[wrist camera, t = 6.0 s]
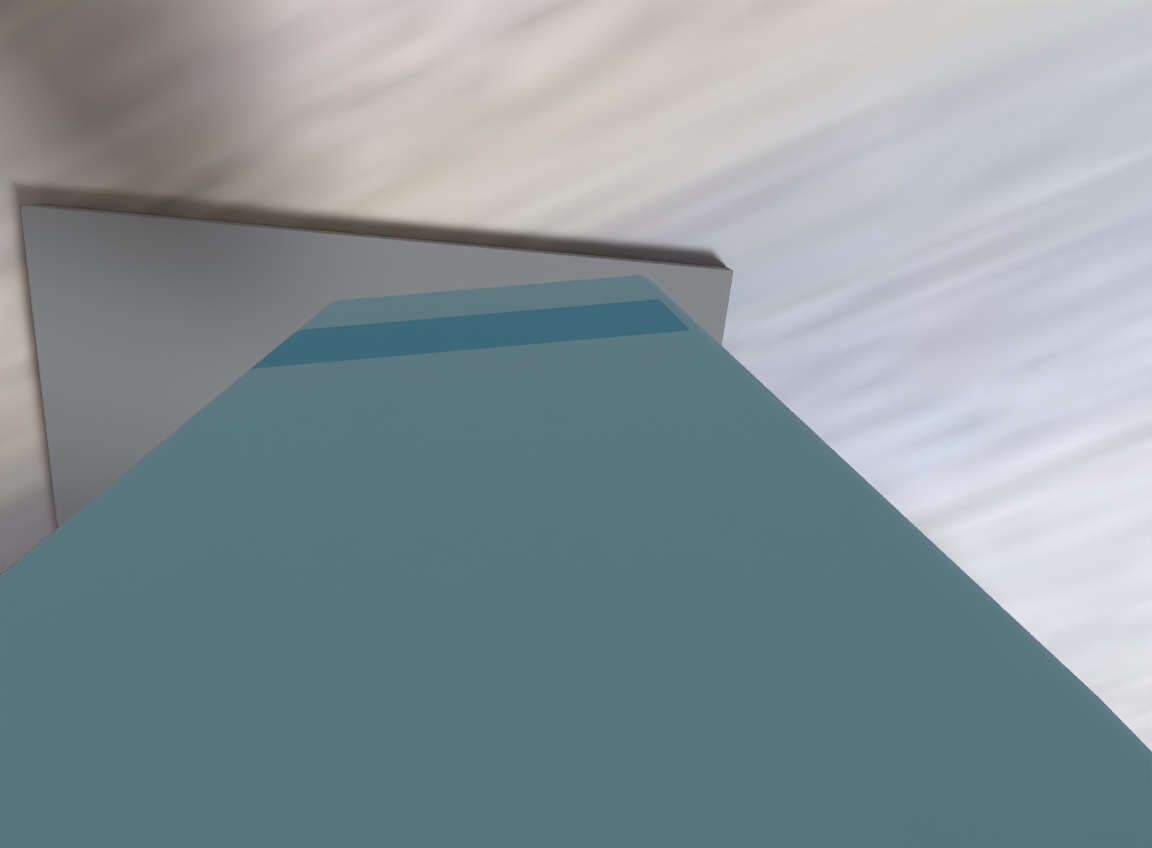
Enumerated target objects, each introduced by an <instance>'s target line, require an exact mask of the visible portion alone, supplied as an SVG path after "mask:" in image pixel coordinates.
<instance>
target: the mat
mask: <svg viewBox="0 0 1152 848" xmlns="http://www.w3.org/2000/svg"><path fill="white" fill-rule="evenodd" d="M20 209H21V217H22V226H23V235H24V243H25V252H26V260H27V269H28V278H29V286H30V295H31V304H32V312H33V321H34V330H35V338H36V347H37V355H38V364H39V373H40V381H41V390H42V399H43V407H44V416H45V424H46V433H47V442H48V450H49V459H50V468H51V476H52V485H53V494H54V502H55V511H56V519H57V528H59V527H60V526H61V525H62V524H63V523H65V522H66V521H67V520H68V519H70V518H71V517H72V516H73V515H74V514H76V513H77V512H78V511H79V510H80V509H82V508H83V507H84V506H85V505H86V504H88V503H89V502H90V501H91V500H92V499H94V498H95V497H96V496H97V495H99V494H100V493H101V492H102V491H103V490H105V489H106V488H107V487H108V486H109V485H111V484H112V483H113V482H114V481H115V480H117V479H118V478H119V477H120V476H121V475H123V474H124V473H125V472H126V471H128V470H129V469H130V468H131V467H132V466H134V465H135V464H136V463H137V462H138V461H140V460H141V459H142V458H143V457H144V456H146V455H147V454H148V453H149V452H150V451H152V450H153V449H154V448H155V447H157V446H158V445H159V444H160V443H161V442H163V441H164V440H165V439H166V438H167V437H169V436H170V435H171V434H172V433H173V432H175V431H176V430H177V429H178V428H179V427H181V426H182V425H183V424H184V423H186V422H187V421H188V420H189V419H190V418H192V417H193V416H194V415H195V414H196V413H198V412H199V411H200V410H201V409H202V408H204V407H205V406H206V405H207V404H208V403H210V402H211V401H212V400H213V399H215V398H216V397H217V396H218V395H219V394H221V393H222V392H223V391H224V390H225V389H227V388H228V387H229V386H230V385H231V384H233V383H234V382H235V381H236V380H237V379H239V378H240V377H241V376H242V375H244V374H245V373H246V372H247V371H248V370H250V369H251V368H252V367H253V366H254V365H256V364H257V363H258V362H259V361H260V360H262V359H263V358H264V357H265V356H267V355H268V354H269V353H270V352H271V351H273V350H274V349H275V348H276V347H277V346H279V345H280V344H281V343H282V342H283V341H285V340H286V339H287V338H288V337H289V336H291V335H292V334H293V333H294V332H296V331H297V330H298V329H299V328H300V327H302V326H303V325H304V324H305V323H306V322H308V321H309V320H310V319H311V318H312V317H314V316H315V315H316V314H317V313H318V312H320V311H321V310H322V309H323V308H325V307H326V306H327V305H329V304H331V303H333V302H335V301H338V300H347V299H359V298H370V297H382V296H394V295H406V294H418V293H430V292H442V291H454V290H466V289H478V288H490V287H501V286H513V285H525V284H537V283H549V282H561V281H573V280H585V279H597V278H609V277H621V276H632V275H640V276H644V277H646V278H648V279H650V280H651V281H652V282H654V283H655V284H656V285H657V286H658V287H659V288H660V289H661V290H662V291H663V292H664V293H665V294H666V295H667V296H669V297H670V298H671V299H672V300H673V301H674V302H675V303H676V304H677V305H678V306H679V307H680V308H681V309H682V310H684V311H685V312H686V313H687V314H688V315H689V316H690V317H691V318H692V319H693V320H694V321H695V322H696V323H697V324H699V325H700V326H701V327H702V328H703V329H704V330H705V331H706V332H707V333H708V334H709V335H710V336H711V337H713V338H714V339H715V340H716V341H717V342H718V343H719V344H720V345H722V339H723V332H724V326H725V320H726V314H727V307H728V301H729V295H730V288H731V282H732V276H733V270H731V269H729V268H727V267H717V266H707V265H696V264H685V263H674V262H663V261H652V260H641V259H630V258H619V257H608V256H597V255H586V254H576V253H565V252H554V251H543V250H532V249H521V248H510V247H499V246H488V245H477V244H466V243H455V242H445V241H434V240H423V239H412V238H401V237H390V236H379V235H368V234H357V233H346V232H335V231H324V230H314V229H303V228H292V227H281V226H270V225H259V224H248V223H237V222H226V221H215V220H204V219H193V218H183V217H172V216H161V215H150V214H139V213H128V212H117V211H106V210H95V209H84V208H73V207H62V206H52V205H41V204H31V205H22V206H20Z"/></svg>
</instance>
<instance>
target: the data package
mask: <svg viewBox="0 0 1152 848" xmlns="http://www.w3.org/2000/svg"><path fill="white" fill-rule="evenodd" d="M0 848H1152V752H1151V751H1150V750H1149V748H1148V747H1147V746H1146V745H1145V744H1144V743H1143V742H1142V741H1141V740H1140V739H1139V738H1138V737H1137V736H1136V735H1135V734H1134V733H1133V732H1132V731H1131V730H1130V729H1129V728H1128V727H1127V726H1126V725H1125V724H1124V723H1123V722H1122V721H1121V720H1120V719H1119V718H1118V717H1117V716H1116V715H1115V714H1114V713H1113V712H1112V711H1111V710H1110V709H1109V708H1108V706H1107V705H1106V704H1105V703H1104V702H1103V701H1102V700H1101V699H1100V698H1099V697H1098V696H1096V695H1095V694H1094V693H1093V692H1092V691H1091V690H1090V689H1089V688H1088V687H1087V686H1086V685H1085V684H1084V683H1083V682H1081V681H1080V680H1079V679H1078V678H1077V677H1076V676H1075V675H1074V674H1073V673H1072V672H1071V671H1070V670H1069V669H1068V668H1066V667H1065V666H1064V665H1063V664H1062V663H1061V662H1060V661H1059V660H1058V659H1057V658H1056V657H1055V656H1054V655H1053V654H1051V653H1050V652H1049V651H1048V650H1047V649H1046V648H1045V647H1044V646H1043V645H1042V644H1041V643H1040V642H1039V641H1038V640H1036V639H1035V638H1034V637H1033V636H1032V635H1031V634H1030V633H1029V632H1028V631H1027V630H1026V629H1025V628H1024V627H1022V626H1021V625H1020V624H1019V623H1018V622H1017V621H1016V620H1015V619H1014V618H1013V617H1012V616H1011V615H1010V614H1009V613H1007V612H1006V611H1005V610H1004V609H1003V608H1002V607H1001V606H1000V605H999V604H998V603H997V602H996V601H995V600H994V599H992V598H991V597H990V596H989V595H988V594H987V593H986V592H985V591H984V590H983V589H982V588H981V587H980V586H979V585H977V584H976V583H975V582H974V581H973V580H972V579H971V578H970V577H969V576H968V575H967V574H966V573H965V572H964V571H962V570H961V569H960V568H959V567H958V566H957V565H956V564H955V563H954V562H953V561H952V560H951V559H950V558H948V557H947V556H946V555H945V554H944V553H943V552H942V551H941V550H940V549H939V548H938V547H937V546H936V545H935V544H933V543H932V542H931V541H930V540H929V539H928V538H927V537H926V536H925V535H924V534H923V533H922V532H921V531H920V530H918V529H917V528H916V527H915V526H914V525H913V524H912V523H911V522H910V521H909V520H908V519H907V518H906V517H905V516H903V515H902V514H901V513H900V512H899V511H898V510H897V509H896V508H895V507H894V506H893V505H892V504H891V503H889V502H888V501H887V500H886V499H885V498H884V497H883V496H882V495H881V494H880V493H879V492H878V491H877V490H876V489H874V488H873V487H872V486H871V485H870V484H869V483H868V482H867V481H866V480H865V479H864V478H863V477H862V476H861V475H859V474H858V473H857V472H856V471H855V470H854V469H853V468H852V467H851V466H850V465H849V464H848V463H847V462H846V461H844V460H843V459H842V458H841V457H840V456H839V455H838V454H837V453H836V452H835V451H834V450H833V449H832V448H830V447H829V446H828V445H827V444H826V443H825V442H824V441H823V440H822V439H821V438H820V437H819V436H818V435H817V434H815V433H814V432H813V431H812V430H811V429H810V428H809V427H808V426H807V425H806V424H805V423H804V422H803V421H802V420H800V419H799V418H798V417H797V416H796V415H795V414H794V413H793V412H792V411H791V410H790V409H789V408H788V407H787V406H785V405H784V404H783V403H782V402H781V401H780V400H779V399H778V398H777V397H776V396H775V395H774V394H773V393H772V392H770V391H769V390H768V389H767V388H766V387H765V386H764V385H763V384H762V383H761V382H760V381H759V380H758V379H756V378H755V377H754V376H753V375H752V374H751V373H750V372H749V371H748V370H747V369H746V368H745V367H744V366H743V365H741V364H740V363H739V362H738V361H737V360H736V359H735V358H734V357H733V356H732V355H731V354H730V353H729V352H728V351H726V350H725V349H724V348H723V347H722V346H721V345H720V344H719V343H718V342H717V341H716V340H715V339H714V338H713V337H711V336H710V335H709V334H708V333H707V332H706V331H705V330H704V329H703V328H702V327H701V326H700V325H699V324H697V323H696V322H695V321H694V320H693V319H692V318H691V317H690V316H689V315H688V314H687V313H686V312H685V311H684V310H682V309H681V308H680V307H679V306H678V305H677V304H676V303H675V302H674V301H673V300H672V299H671V298H670V297H669V296H667V295H666V294H665V293H664V292H663V291H662V290H661V289H660V288H659V287H658V286H657V285H656V284H655V283H654V282H652V281H651V280H650V279H648V278H646V277H644V276H640V275H632V276H621V277H609V278H597V279H585V280H573V281H561V282H549V283H537V284H525V285H513V286H501V287H490V288H478V289H466V290H454V291H442V292H430V293H418V294H406V295H394V296H382V297H370V298H359V299H347V300H338V301H335V302H333V303H331V304H329V305H327V306H326V307H325V308H323V309H322V310H321V311H320V312H318V313H317V314H316V315H315V316H314V317H312V318H311V319H310V320H309V321H308V322H306V323H305V324H304V325H303V326H302V327H300V328H299V329H298V330H297V331H296V332H294V333H293V334H292V335H291V336H289V337H288V338H287V339H286V340H285V341H283V342H282V343H281V344H280V345H279V346H277V347H276V348H275V349H274V350H273V351H271V352H270V353H269V354H268V355H267V356H265V357H264V358H263V359H262V360H260V361H259V362H258V363H257V364H256V365H254V366H253V367H252V368H251V369H250V370H248V371H247V372H246V373H245V374H244V375H242V376H241V377H240V378H239V379H237V380H236V381H235V382H234V383H233V384H231V385H230V386H229V387H228V388H227V389H225V390H224V391H223V392H222V393H221V394H219V395H218V396H217V397H216V398H215V399H213V400H212V401H211V402H210V403H208V404H207V405H206V406H205V407H204V408H202V409H201V410H200V411H199V412H198V413H196V414H195V415H194V416H193V417H192V418H190V419H189V420H188V421H187V422H186V423H184V424H183V425H182V426H181V427H179V428H178V429H177V430H176V431H175V432H173V433H172V434H171V435H170V436H169V437H167V438H166V439H165V440H164V441H163V442H161V443H160V444H159V445H158V446H157V447H155V448H154V449H153V450H152V451H150V452H149V453H148V454H147V455H146V456H144V457H143V458H142V459H141V460H140V461H138V462H137V463H136V464H135V465H134V466H132V467H131V468H130V469H129V470H128V471H126V472H125V473H124V474H123V475H121V476H120V477H119V478H118V479H117V480H115V481H114V482H113V483H112V484H111V485H109V486H108V487H107V488H106V489H105V490H103V491H102V492H101V493H100V494H99V495H97V496H96V497H95V498H94V499H92V500H91V501H90V502H89V503H88V504H86V505H85V506H84V507H83V508H82V509H80V510H79V511H78V512H77V513H76V514H74V515H73V516H72V517H71V518H70V519H68V520H67V521H66V522H65V523H63V524H62V525H61V526H60V527H59V528H57V529H56V530H55V531H54V532H53V533H51V534H50V535H49V536H48V537H47V538H45V539H44V540H43V541H42V542H41V543H39V544H38V545H37V546H36V547H34V548H33V549H32V550H31V551H30V552H28V553H27V554H26V555H25V556H24V557H22V558H21V559H20V560H19V561H18V562H16V563H15V564H14V565H13V566H12V567H10V568H9V569H8V570H7V571H5V572H4V573H3V574H2V575H1V576H0Z"/></svg>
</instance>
